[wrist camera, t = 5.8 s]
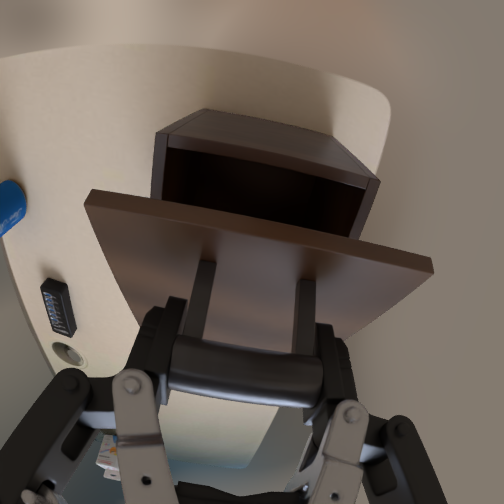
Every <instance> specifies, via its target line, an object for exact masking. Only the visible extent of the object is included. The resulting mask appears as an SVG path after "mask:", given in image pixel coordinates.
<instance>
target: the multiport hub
mask: <svg viewBox="0 0 504 504" xmlns="http://www.w3.org/2000/svg"><path fill="white" fill-rule="evenodd" d="M40 289H41V293H42V297H43V300H44V304H45V307H46V311H47V314H48V317H49V321H50V324H51V327H52V330H53V331H54V332H56V333H59V334H62V335H64V336H67V337H70V338H72V337H73V335H74V333H75V331H76V329H77V327H76V323H75V319H74V314H73V310H72V306H71V301H70V296H69V291H68V286H67V284H65V283H62V282H59V281H56V280H53V279H50V278H47V279H46V280H45V281H44V283H43V284H42V285H41V286H40Z"/></svg>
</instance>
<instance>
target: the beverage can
mask: <svg viewBox="0 0 504 504" xmlns="http://www.w3.org/2000/svg"><path fill="white" fill-rule="evenodd" d="M25 214H26V199H25V195H24V193H23V191H22V189H21V188H20V187H19V186H18V185H17V184H16V183H15V182H13V181H11V180H6V181H4V182H2V183H0V237H2V236H3V235H4V234H5V233H6V232H7V231H8V230H10V229H11V228H12V227H13V226H14V225H15V224H17V223H18V222H19V221H20V220H21V219H23V217H24V216H25Z"/></svg>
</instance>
